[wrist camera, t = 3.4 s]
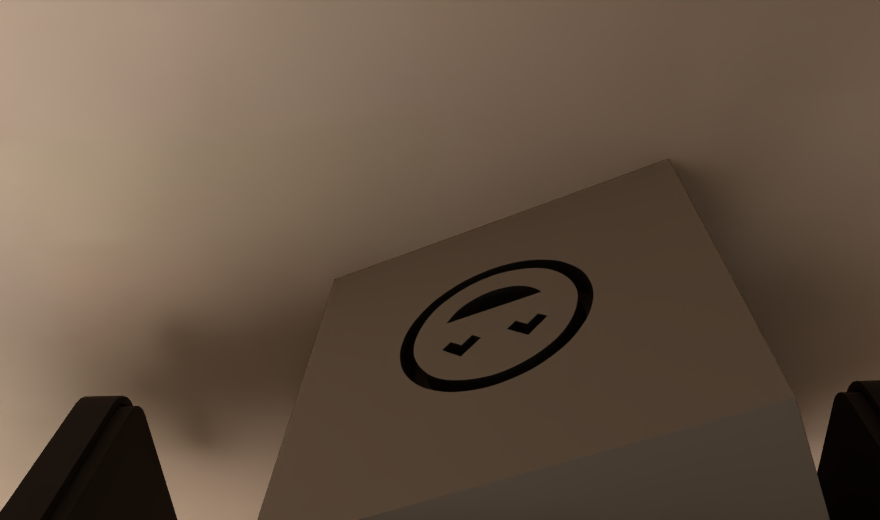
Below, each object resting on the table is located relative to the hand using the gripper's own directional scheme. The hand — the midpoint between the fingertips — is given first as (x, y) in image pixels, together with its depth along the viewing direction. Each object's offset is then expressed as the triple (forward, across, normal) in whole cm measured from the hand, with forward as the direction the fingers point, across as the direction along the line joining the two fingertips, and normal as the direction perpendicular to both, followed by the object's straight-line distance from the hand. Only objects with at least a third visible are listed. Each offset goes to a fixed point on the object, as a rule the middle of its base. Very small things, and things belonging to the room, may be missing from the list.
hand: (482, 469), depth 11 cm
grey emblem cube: (+2, -1, 0) cm, 2 cm away
